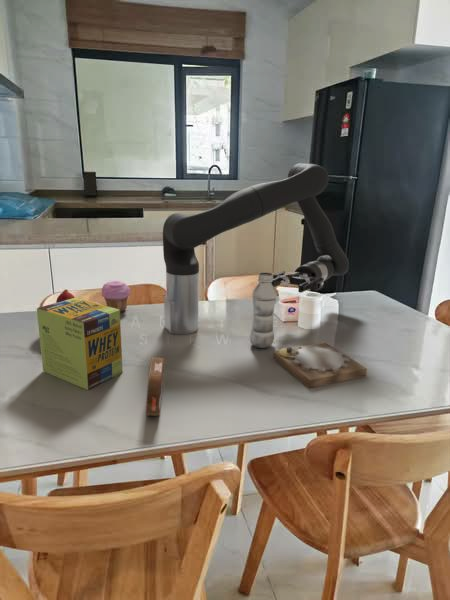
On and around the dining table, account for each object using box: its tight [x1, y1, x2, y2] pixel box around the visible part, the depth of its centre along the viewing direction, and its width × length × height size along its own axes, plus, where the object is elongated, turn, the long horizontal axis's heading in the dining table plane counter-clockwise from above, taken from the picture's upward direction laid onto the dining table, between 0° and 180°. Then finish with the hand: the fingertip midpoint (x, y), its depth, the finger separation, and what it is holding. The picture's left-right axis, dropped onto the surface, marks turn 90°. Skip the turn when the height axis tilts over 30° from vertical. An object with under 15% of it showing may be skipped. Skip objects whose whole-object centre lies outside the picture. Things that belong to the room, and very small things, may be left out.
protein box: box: [36, 297, 124, 391], centre depth 97 cm, size 10×15×16 cm
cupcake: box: [101, 280, 131, 313], centre depth 139 cm, size 9×9×10 cm
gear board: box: [272, 342, 368, 389], centre depth 105 cm, size 16×16×4 cm
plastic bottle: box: [249, 272, 278, 349], centre depth 114 cm, size 6×7×20 cm
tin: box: [145, 356, 165, 416], centre depth 87 cm, size 15×3×8 cm, turn 5°
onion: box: [55, 288, 76, 303], centre depth 135 cm, size 6×6×8 cm
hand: (286, 286), depth 121 cm, fingers open, 8 cm apart
